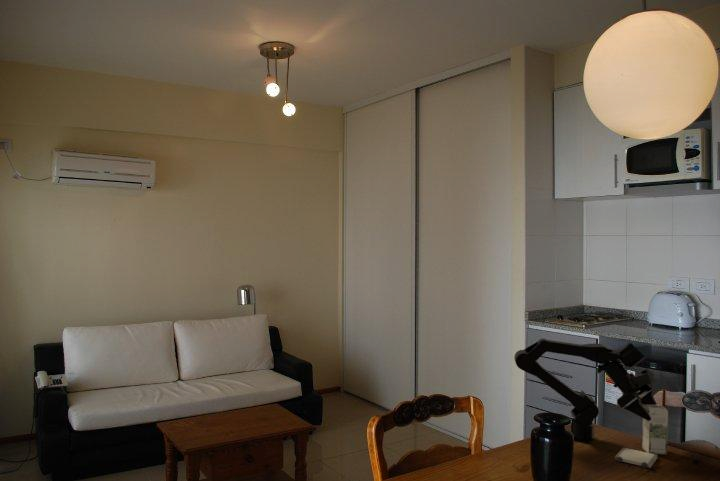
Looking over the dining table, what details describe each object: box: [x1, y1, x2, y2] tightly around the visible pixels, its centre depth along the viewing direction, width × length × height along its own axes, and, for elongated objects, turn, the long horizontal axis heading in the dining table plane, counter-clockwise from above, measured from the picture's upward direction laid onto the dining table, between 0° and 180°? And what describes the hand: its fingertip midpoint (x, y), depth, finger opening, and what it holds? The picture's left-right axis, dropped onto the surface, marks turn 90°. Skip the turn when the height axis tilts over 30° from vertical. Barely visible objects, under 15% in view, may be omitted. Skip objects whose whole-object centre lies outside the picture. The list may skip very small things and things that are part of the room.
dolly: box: [614, 446, 658, 469], centre depth 181 cm, size 10×11×2 cm
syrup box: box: [641, 404, 669, 456], centre depth 188 cm, size 6×6×14 cm
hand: (655, 416), depth 188 cm, fingers open, 9 cm apart
